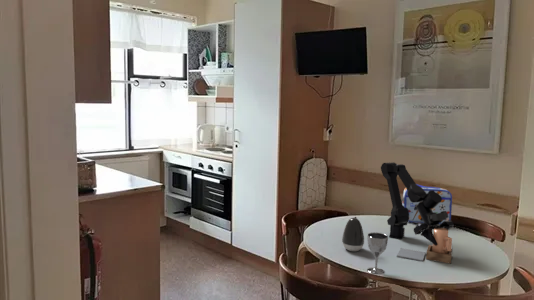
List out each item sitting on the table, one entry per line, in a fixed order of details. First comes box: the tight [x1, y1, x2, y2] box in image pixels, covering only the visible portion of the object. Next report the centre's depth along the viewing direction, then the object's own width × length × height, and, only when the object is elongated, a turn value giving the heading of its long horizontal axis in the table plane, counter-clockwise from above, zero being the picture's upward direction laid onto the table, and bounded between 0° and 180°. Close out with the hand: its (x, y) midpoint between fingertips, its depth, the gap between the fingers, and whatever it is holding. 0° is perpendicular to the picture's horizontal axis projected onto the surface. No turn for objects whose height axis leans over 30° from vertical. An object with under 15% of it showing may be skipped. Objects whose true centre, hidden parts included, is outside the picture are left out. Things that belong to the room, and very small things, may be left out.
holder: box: [425, 244, 453, 264], centre depth 188 cm, size 10×10×4 cm
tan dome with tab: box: [432, 228, 453, 254], centre depth 186 cm, size 9×6×13 cm
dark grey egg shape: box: [341, 216, 365, 252], centre depth 195 cm, size 10×10×15 cm
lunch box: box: [401, 183, 453, 224], centre depth 242 cm, size 28×10×22 cm, turn 78°
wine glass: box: [366, 232, 389, 275], centre depth 171 cm, size 8×8×15 cm
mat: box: [396, 247, 427, 262], centre depth 190 cm, size 11×11×1 cm
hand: (442, 244), depth 186 cm, fingers closed on tan dome with tab, 6 cm apart
